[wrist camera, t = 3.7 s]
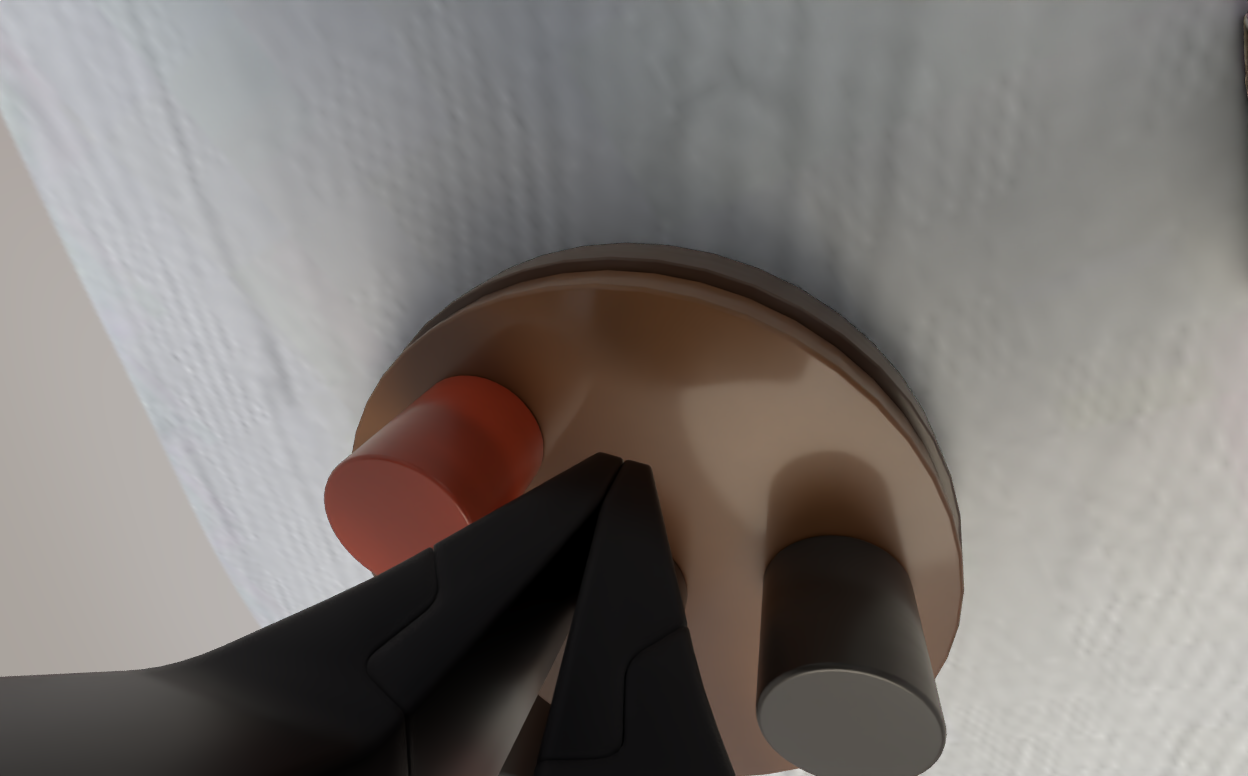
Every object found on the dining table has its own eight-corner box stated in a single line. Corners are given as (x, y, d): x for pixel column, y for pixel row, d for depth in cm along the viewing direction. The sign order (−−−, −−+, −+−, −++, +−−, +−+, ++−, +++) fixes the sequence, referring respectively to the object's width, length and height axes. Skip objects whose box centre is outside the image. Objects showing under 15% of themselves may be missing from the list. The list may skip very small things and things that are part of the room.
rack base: (621, 748, 20) (612, 784, 19) (308, 445, 17) (277, 469, 16) (1073, 608, 13) (1098, 652, 12) (684, 81, 11) (672, 82, 9)
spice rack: (612, 782, 19) (570, 942, 15) (283, 473, 16) (141, 581, 12) (1084, 653, 12) (1199, 877, 9) (670, 101, 10) (599, 110, 6)
